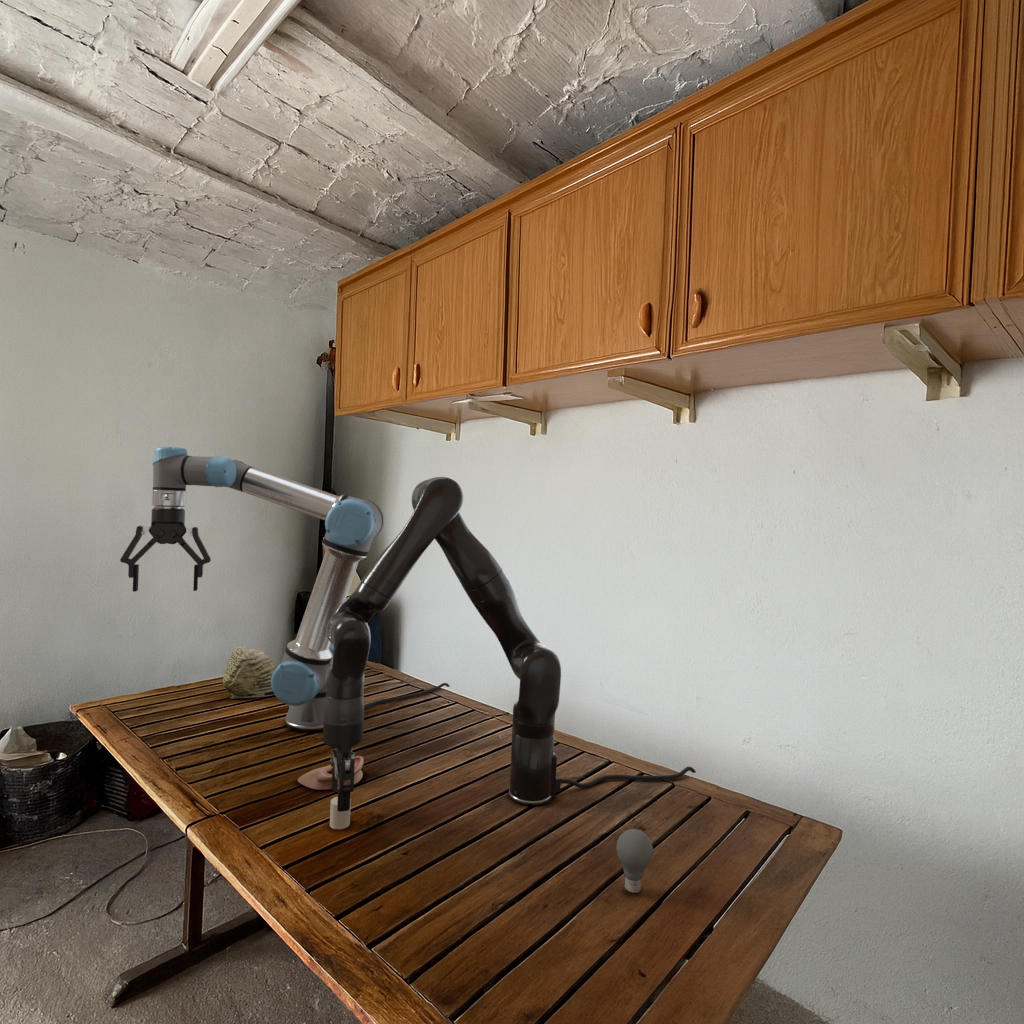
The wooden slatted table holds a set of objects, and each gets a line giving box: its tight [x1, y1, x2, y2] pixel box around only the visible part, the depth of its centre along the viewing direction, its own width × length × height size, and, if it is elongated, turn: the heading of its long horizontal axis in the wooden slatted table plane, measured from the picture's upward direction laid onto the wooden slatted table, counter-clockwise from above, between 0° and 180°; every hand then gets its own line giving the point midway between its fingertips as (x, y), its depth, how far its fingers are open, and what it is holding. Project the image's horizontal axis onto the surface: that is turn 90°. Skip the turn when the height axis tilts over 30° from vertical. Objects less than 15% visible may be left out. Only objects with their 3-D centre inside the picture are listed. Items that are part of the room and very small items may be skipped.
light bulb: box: [615, 828, 654, 894], centre depth 106 cm, size 6×6×10 cm
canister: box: [329, 796, 352, 830], centre depth 123 cm, size 4×4×5 cm
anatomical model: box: [297, 755, 364, 791], centre depth 142 cm, size 13×4×12 cm
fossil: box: [222, 646, 277, 699], centre depth 198 cm, size 9×18×15 cm, turn 132°
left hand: (165, 590), depth 162 cm, fingers open, 13 cm apart
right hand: (340, 800), depth 122 cm, fingers open, 8 cm apart
